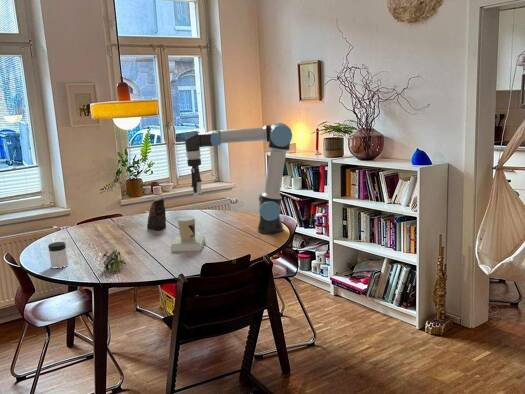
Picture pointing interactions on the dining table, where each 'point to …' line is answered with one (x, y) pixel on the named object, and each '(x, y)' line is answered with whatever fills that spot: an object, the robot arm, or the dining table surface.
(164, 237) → the dining table surface
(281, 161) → the robot arm
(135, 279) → the dining table surface
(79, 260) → the dining table surface
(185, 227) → the coffee cup
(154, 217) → the owl
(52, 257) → the jar
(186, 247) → the plinth
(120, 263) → the small green plant
